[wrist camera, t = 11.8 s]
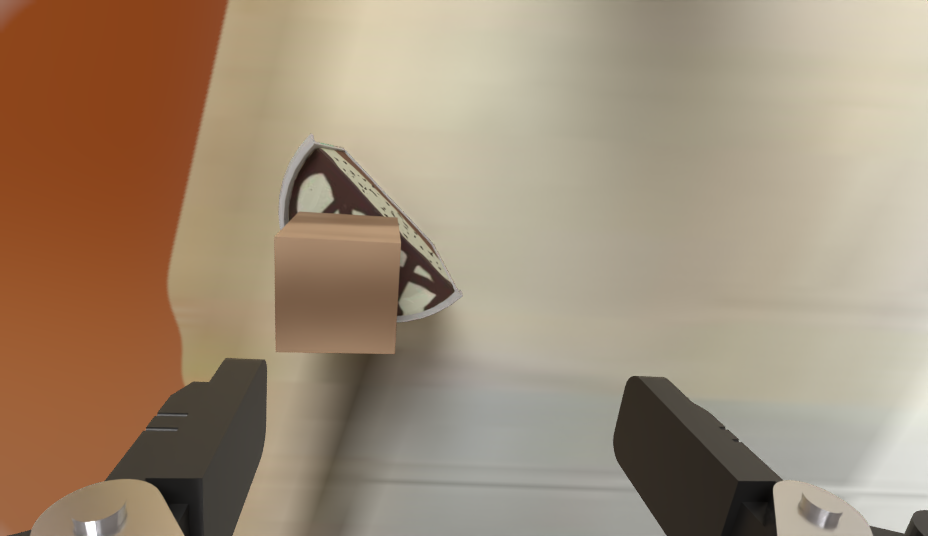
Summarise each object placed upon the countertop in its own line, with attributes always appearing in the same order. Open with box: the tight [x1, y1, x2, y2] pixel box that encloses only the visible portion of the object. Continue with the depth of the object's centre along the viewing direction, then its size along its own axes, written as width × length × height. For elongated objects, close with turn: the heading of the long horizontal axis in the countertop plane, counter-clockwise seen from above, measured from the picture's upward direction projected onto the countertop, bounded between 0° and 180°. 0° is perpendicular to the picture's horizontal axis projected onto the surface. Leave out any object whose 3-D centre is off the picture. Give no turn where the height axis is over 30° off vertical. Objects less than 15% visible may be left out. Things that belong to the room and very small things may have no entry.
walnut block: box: [274, 212, 401, 354], centre depth 24 cm, size 5×5×6 cm
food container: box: [279, 134, 463, 322], centre depth 31 cm, size 12×6×10 cm, turn 41°
